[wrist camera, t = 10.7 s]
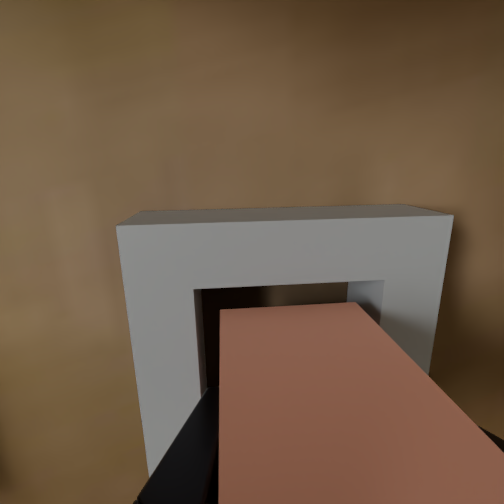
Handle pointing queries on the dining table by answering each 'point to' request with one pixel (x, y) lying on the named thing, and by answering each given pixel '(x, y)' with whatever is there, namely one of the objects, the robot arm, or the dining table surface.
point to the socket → (264, 274)
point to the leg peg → (340, 416)
